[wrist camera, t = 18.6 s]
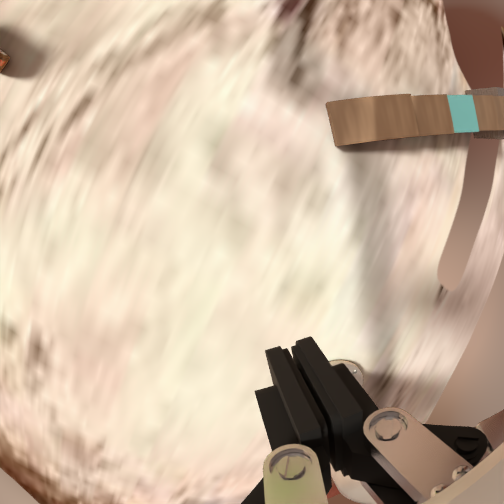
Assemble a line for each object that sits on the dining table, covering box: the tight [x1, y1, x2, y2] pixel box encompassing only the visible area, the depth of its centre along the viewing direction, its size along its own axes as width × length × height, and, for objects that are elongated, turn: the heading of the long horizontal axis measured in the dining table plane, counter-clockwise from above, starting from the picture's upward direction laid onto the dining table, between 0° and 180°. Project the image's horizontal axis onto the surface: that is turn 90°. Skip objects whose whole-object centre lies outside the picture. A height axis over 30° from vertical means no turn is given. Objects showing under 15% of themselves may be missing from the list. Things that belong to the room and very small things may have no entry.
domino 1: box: [326, 94, 419, 146], centre depth 28 cm, size 2×5×10 cm
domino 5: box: [493, 96, 504, 130], centre depth 29 cm, size 2×5×10 cm
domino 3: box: [447, 95, 479, 133], centre depth 29 cm, size 2×5×10 cm
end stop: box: [465, 87, 504, 139], centre depth 30 cm, size 8×3×7 cm, turn 14°
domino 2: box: [386, 94, 455, 140], centre depth 29 cm, size 2×5×10 cm
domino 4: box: [472, 95, 499, 131], centre depth 29 cm, size 2×5×10 cm
